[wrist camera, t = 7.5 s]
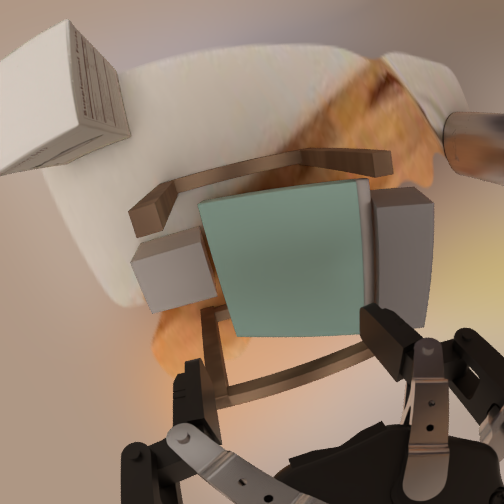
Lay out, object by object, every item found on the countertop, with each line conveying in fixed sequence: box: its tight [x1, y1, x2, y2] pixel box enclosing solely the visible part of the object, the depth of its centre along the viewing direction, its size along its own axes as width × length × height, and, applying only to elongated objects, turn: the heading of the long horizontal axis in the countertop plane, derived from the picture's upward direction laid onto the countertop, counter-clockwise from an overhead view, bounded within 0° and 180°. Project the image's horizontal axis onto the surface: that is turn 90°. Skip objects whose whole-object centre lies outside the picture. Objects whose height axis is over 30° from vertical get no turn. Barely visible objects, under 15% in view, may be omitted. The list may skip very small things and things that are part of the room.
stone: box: [130, 226, 217, 314], centre depth 24 cm, size 5×5×6 cm
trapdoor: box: [197, 178, 434, 337], centre depth 19 cm, size 15×12×4 cm
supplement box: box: [0, 19, 131, 176], centre depth 14 cm, size 7×7×13 cm
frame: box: [128, 148, 393, 410], centre depth 22 cm, size 14×15×12 cm
